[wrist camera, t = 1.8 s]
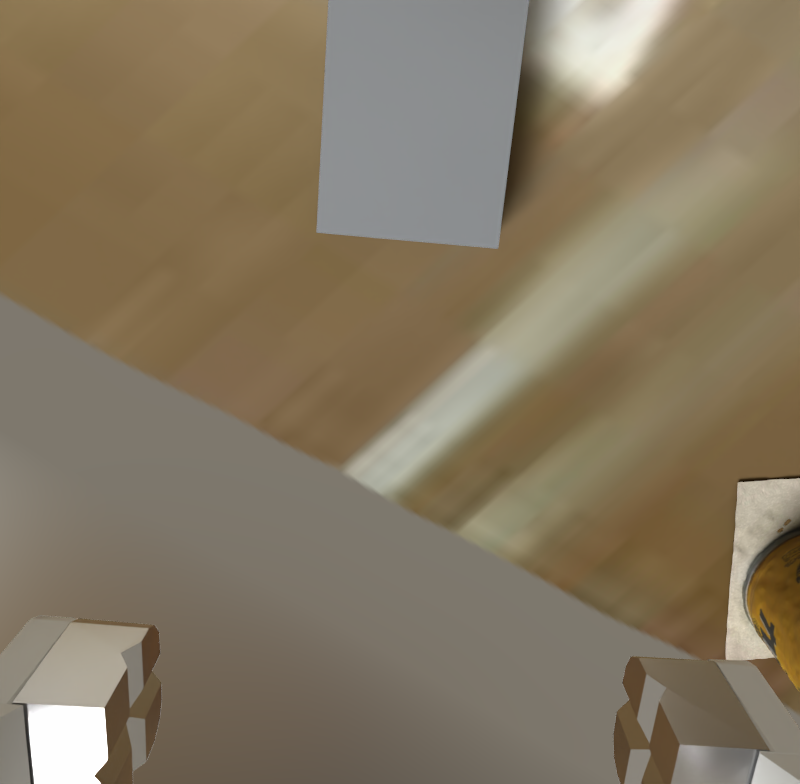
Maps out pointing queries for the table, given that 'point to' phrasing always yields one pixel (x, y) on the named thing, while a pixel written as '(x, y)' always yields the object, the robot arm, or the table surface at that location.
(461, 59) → the grey rectangular block
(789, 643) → the condiment
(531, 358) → the table surface
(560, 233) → the table surface
